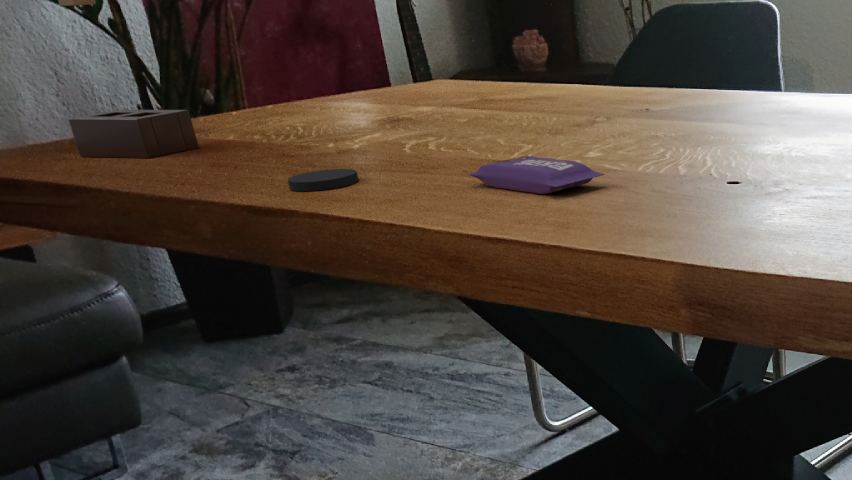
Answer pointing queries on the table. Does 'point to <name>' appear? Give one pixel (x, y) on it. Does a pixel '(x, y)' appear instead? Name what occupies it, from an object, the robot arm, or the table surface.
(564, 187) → the snack package
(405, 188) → the table surface
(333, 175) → the coaster
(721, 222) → the table surface
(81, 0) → the green and tan bar
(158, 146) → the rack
